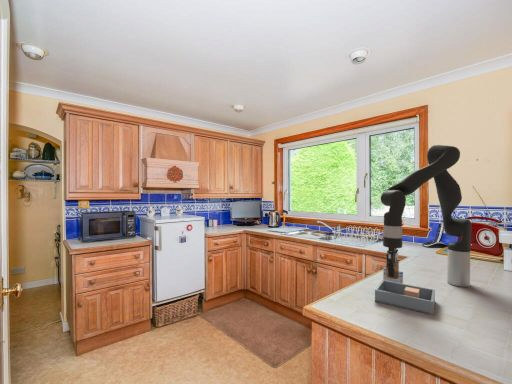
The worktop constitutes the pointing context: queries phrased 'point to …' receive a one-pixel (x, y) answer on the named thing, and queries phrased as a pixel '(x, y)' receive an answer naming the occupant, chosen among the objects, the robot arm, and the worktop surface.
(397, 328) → the worktop surface
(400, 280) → the medicine box
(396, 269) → the walnut cylinder
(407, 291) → the terracotta cube
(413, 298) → the tote
